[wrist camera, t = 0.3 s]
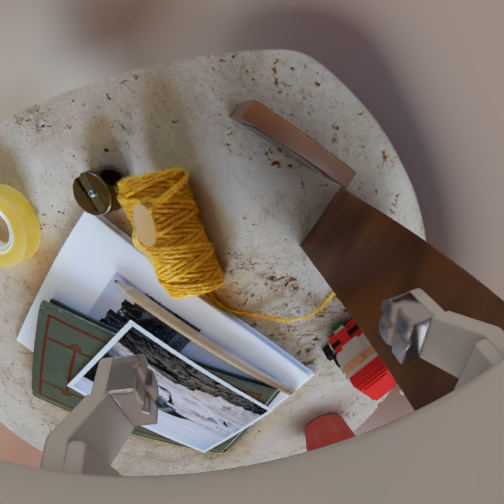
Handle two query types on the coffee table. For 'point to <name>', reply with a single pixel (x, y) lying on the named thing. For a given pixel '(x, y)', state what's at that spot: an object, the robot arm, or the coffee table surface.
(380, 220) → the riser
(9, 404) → the coffee table surface
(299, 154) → the photo frame
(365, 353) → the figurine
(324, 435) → the flower pot
